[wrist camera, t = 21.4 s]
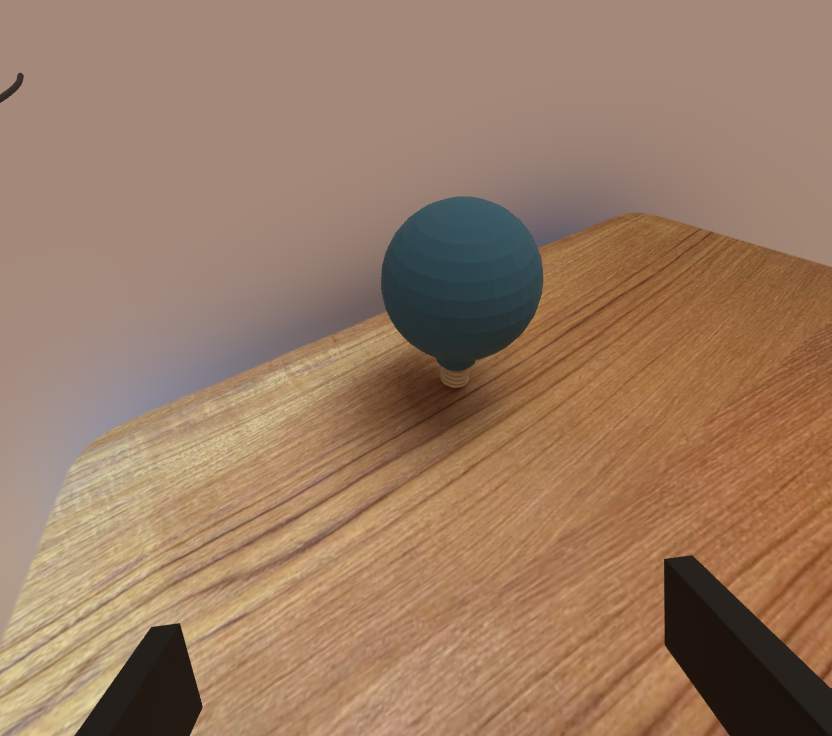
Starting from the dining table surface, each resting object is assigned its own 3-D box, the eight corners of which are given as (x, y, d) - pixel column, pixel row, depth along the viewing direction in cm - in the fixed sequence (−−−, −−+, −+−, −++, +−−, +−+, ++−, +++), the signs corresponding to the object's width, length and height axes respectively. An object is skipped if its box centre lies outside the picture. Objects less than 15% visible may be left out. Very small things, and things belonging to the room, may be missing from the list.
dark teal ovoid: (542, 374, 29) (590, 196, 21) (472, 460, 25) (496, 277, 16) (440, 325, 33) (445, 157, 25) (363, 391, 29) (335, 213, 20)
